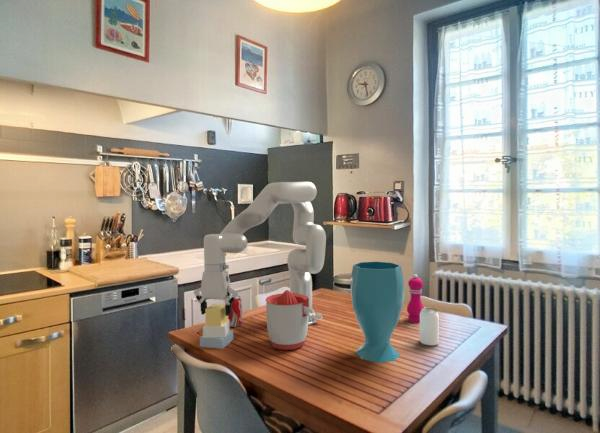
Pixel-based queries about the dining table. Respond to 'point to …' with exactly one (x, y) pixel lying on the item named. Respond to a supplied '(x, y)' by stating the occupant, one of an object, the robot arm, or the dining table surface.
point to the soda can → (235, 312)
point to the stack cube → (216, 315)
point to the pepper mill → (415, 299)
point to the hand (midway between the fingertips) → (216, 314)
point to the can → (429, 326)
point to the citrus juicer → (287, 319)
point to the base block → (216, 341)
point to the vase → (377, 307)
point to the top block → (215, 330)
